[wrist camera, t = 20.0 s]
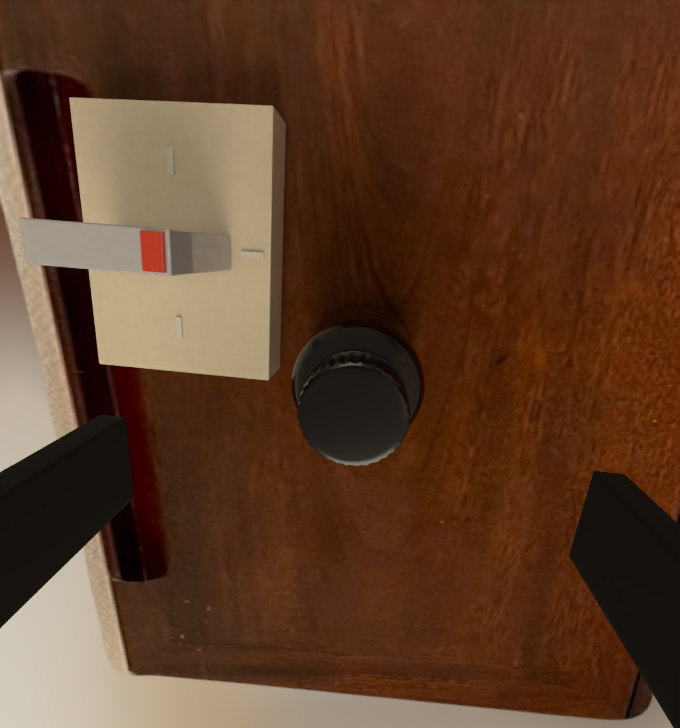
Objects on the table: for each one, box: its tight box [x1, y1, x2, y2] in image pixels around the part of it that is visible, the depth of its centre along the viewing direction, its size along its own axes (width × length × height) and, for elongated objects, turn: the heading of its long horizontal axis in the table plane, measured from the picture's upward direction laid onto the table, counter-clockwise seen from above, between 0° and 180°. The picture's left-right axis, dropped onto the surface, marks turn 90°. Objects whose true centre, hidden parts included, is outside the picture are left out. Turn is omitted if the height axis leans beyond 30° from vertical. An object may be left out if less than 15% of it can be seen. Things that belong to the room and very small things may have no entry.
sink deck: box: [69, 97, 286, 380], centre depth 25 cm, size 16×12×3 cm
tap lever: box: [19, 218, 230, 276], centre depth 20 cm, size 7×2×7 cm, turn 86°
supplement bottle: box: [292, 304, 425, 466], centre depth 22 cm, size 7×7×12 cm
